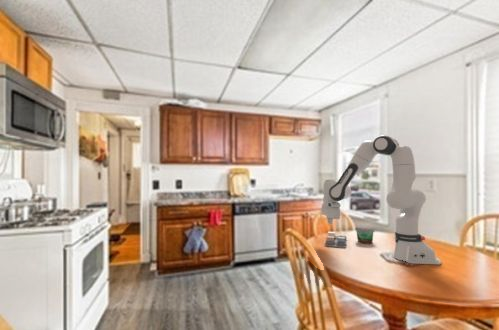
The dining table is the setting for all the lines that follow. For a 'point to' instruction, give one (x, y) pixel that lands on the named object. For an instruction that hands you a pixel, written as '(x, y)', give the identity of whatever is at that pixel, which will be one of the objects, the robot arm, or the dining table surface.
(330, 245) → the keypad base
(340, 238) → the slate key
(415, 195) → the robot arm
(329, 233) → the cream key
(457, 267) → the dining table surface
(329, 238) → the terracotta key
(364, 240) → the food container
